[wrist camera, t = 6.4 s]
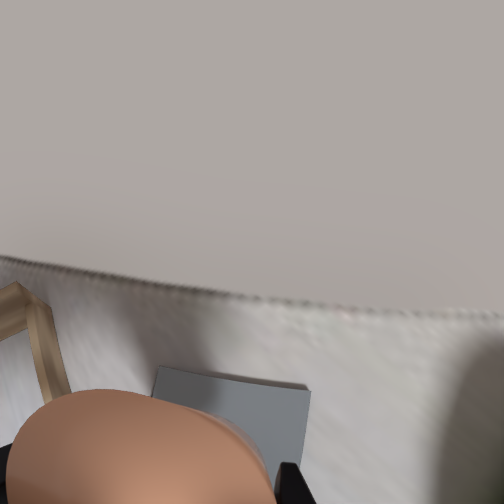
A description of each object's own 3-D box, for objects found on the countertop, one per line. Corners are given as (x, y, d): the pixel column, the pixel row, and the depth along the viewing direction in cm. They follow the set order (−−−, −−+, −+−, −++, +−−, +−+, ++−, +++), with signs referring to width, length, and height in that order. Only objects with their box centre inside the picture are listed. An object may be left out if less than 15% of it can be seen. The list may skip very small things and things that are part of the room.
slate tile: (286, 529, 14) (287, 531, 14) (135, 498, 15) (133, 500, 15) (309, 391, 19) (311, 390, 19) (161, 366, 20) (159, 365, 20)
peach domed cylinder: (203, 528, 11) (129, 650, 1) (135, 450, 13) (-27, 458, 4) (287, 469, 13) (351, 550, 3) (215, 391, 15) (141, 330, 5)
